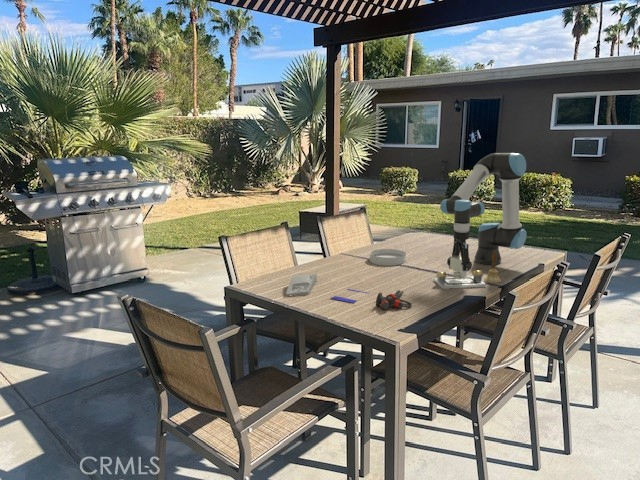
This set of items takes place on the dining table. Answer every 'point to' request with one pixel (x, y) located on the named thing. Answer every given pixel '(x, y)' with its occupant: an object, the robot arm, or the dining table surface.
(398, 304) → the grey red jointed piece
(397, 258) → the dish
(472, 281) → the plate
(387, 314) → the dining table surface
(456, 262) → the pneumatic valve
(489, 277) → the hand bell
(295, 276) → the ramp
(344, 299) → the flat strips
